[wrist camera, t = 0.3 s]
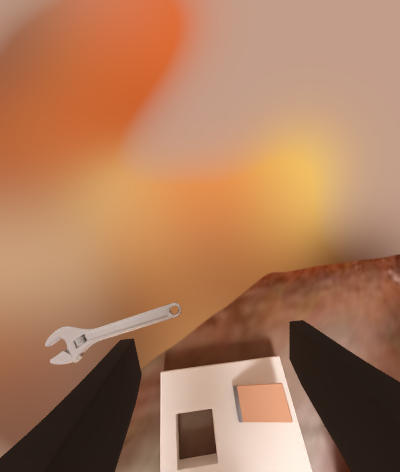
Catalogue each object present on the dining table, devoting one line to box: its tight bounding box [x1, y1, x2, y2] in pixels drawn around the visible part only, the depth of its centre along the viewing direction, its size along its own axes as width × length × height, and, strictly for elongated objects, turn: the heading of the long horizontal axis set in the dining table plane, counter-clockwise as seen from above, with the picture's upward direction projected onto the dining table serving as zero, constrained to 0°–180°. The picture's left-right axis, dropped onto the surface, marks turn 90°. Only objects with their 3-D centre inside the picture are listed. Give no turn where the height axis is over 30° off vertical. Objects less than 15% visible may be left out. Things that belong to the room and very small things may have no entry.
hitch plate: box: [160, 356, 312, 472], centre depth 28 cm, size 16×20×3 cm
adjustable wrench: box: [45, 303, 181, 364], centre depth 35 cm, size 25×6×2 cm, turn 103°
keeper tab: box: [233, 383, 293, 423], centre depth 27 cm, size 4×8×1 cm, turn 96°
